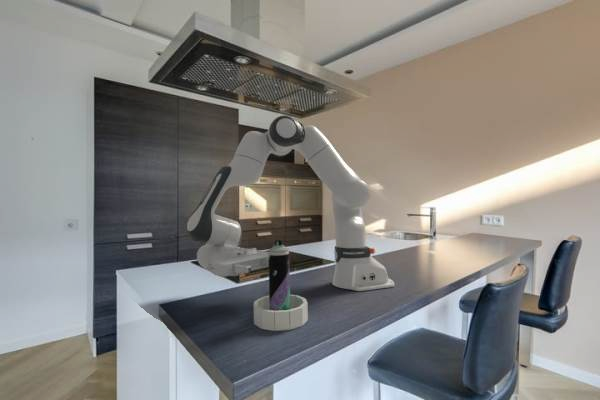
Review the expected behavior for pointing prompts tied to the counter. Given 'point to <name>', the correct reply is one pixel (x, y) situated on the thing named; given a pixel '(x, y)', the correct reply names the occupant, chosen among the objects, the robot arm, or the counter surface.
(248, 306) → the counter surface
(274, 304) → the spray can
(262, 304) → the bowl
